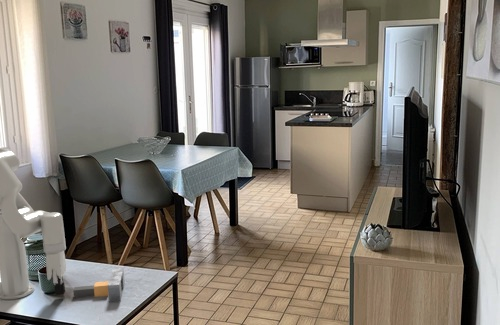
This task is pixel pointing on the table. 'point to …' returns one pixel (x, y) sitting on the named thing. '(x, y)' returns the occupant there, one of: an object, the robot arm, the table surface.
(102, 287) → the cable plug
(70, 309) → the table surface
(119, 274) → the grey notched block
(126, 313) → the table surface
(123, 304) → the table surface
